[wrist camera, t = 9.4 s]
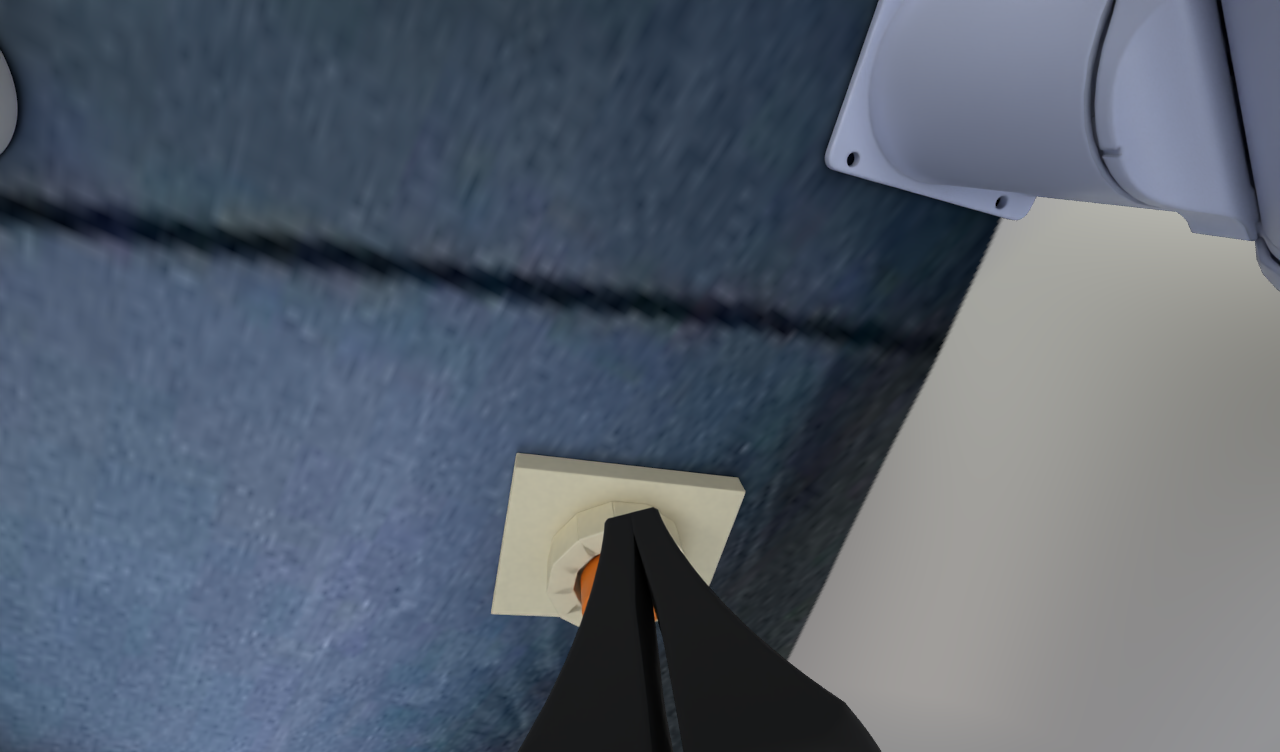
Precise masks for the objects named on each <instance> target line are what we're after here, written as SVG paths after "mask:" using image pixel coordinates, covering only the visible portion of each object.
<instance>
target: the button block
mask: <svg viewBox="0 0 1280 752" xmlns="http://www.w3.org/2000/svg"><path fill="white" fill-rule="evenodd" d="M744 495H745V490H744V488H743V486H742V484H741V483H740V481H739V479H738V478H737V477H728V476H719V475H710V474H701V473H692V472H683V471H675V470H666V469H657V468H648V467H639V466H630V465H621V464H613V463H604V462H595V461H586V460H577V459H568V458H559V457H551V456H542V455H533V454H524V453H517V454H516V459H515V465H514V471H513V478H512V484H511V490H510V496H509V502H508V509H507V515H506V521H505V527H504V534H503V540H502V546H501V552H500V559H499V565H498V571H497V577H496V584H495V590H494V596H493V603H492V610H491V614H501V615H526V616H551V617H561V618H562V619H564V620H566V621H568V622H570V623H572V624H574V625H576V626H578V627H579V626H580V623H581V620H582V617H583V616H582V604H581V581H580V579H581V575H582V572H583V570H584V568H585V567H586V565H587V564H588V563H589V562H590V561H591V560H592V559H593V558H595V557H596V556H598V555H599V554H600V553H601V547H602V542H603V534H604V523H605V522H606V520H607V519H608V518H612V517H616V516H620V515H624V514H628V513H631V512H635V511H639V510H643V509H647V508H651V507H654V508H656V509H658V510H659V513H660V516H661V518H662V520H663V522H664V524H665V526H666V528H667V530H668V531H669V533H670V535H671V536H672V538H673V540H674V541H675V543H676V544H677V546H678V547H679V549H680V550H681V552H682V553H683V554H684V556H685V557H686V558H687V560H688V561H689V562H690V564H691V565H692V566H693V568H694V569H695V570H696V572H697V573H698V574H699V575H700V577H701V578H702V579H703V580H704V581H705V582H706V584H707V585H708V586H709V585H710V583H711V580H712V578H713V575H714V572H715V570H716V567H717V565H718V562H719V559H720V557H721V554H722V552H723V549H724V547H725V544H726V541H727V539H728V536H729V534H730V531H731V528H732V526H733V523H734V521H735V518H736V516H737V513H738V510H739V508H740V505H741V503H742V500H743V497H744ZM656 621H658V620H656ZM656 621H655V622H656Z"/></svg>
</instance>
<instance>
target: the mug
mask: <svg viewBox="0 0 1280 752" xmlns="http://www.w3.org/2000/svg"><path fill="white" fill-rule="evenodd" d="M17 111H18V109H17V96H16V90H15V86H14V82H13V78H12V75H11V72H10V70H9V67H8V65H7V62H6V60H5V58H4V56H3V54H2V52H1V50H0V154H1V153H2V152H3V151H4V150H5V149H6V147H7V146H8V144H9V142H10V140H11V138H12V136H13V133H14V130H15V127H16V122H17Z"/></svg>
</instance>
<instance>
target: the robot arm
mask: <svg viewBox="0 0 1280 752" xmlns="http://www.w3.org/2000/svg"><path fill="white" fill-rule="evenodd" d="M851 153H853V154H854V162H853V163H852V165H850V166H848V165H847V157H848V156H849V154H851ZM825 164H826V165H827V167H828V168H830V169H831V170H834V171H838V172H841V173H845V174H848V175H852V176H855V177H859V178H863V179H866V180H870V181H873V182H877V183H880V184H884V185H888V186H891V187H895V188H898V189H902V190H905V191H909V192H913V193H916V194H920V195H923V196H927V197H930V198H934V199H938V200H941V201H945V202H948V203H952V204H955V205H959V206H963V207H966V208H970V209H973V210H977V211H980V212H984V213H988V214H991V215H995V216H998V217H1002V218H1006V219H1010V220H1019V219H1022V218H1023V217H1024V216H1026V215H1027V213H1028V212H1029V210H1030V208H1031V206H1032V205H1033V202H1034V201H1035V199H1036V197H1037V196H1038V197H1047V198H1056V199H1065V200H1074V201H1084V202H1092V203H1101V204H1111V205H1119V206H1129V207H1137V208H1147V209H1155V210H1165V211H1174V212H1178V213H1179V214H1180V215H1182V216H1183V217H1184V218H1185V219H1186V221H1187V222H1188V225H1189V227H1190V229H1191V231H1192V233H1199V234H1205V235H1212V236H1219V237H1226V238H1234V239H1241V240H1248V241H1255V246H1256V257H1257V261H1258V264H1259V266H1260V268H1261V271H1262V273H1263V275H1264V276H1265V277H1266V278H1267V279H1268V280H1269V281H1270V282H1271V283H1272V284H1273V286H1274V287H1275V288H1276V289H1277V290H1278V291H1280V0H879V1H878V4H877V7H876V10H875V13H874V16H873V19H872V21H871V24H870V27H869V30H868V33H867V36H866V39H865V41H864V44H863V47H862V50H861V53H860V56H859V59H858V61H857V64H856V67H855V70H854V73H853V76H852V79H851V81H850V84H849V87H848V90H847V93H846V96H845V99H844V101H843V104H842V107H841V110H840V113H839V116H838V119H837V121H836V124H835V127H834V130H833V133H832V136H831V139H830V141H829V144H828V147H827V150H826V153H825ZM999 197H1000V201H999V204H998V205H997V206H996V205H995V204H996V201H997V199H998V198H999ZM653 607H654V608H653ZM654 610H655V614H656V617H657V620H658V623H659V627H660V630H661V633H662V637H663V641H664V647H665V652H666V657H667V663H668V668H669V673H670V679H671V684H672V690H673V695H674V701H675V706H676V712H677V717H678V723H679V729H680V734H681V740H682V746H683V752H881V750H880V749H879V747H878V745H877V744H876V742H875V741H874V740H873V738H872V736H871V735H870V734H869V732H868V731H867V730H866V728H865V727H864V726H863V724H862V723H861V722H860V720H859V719H858V718H857V717H856V715H855V714H854V713H853V712H852V711H851V709H850V708H849V707H848V706H847V705H846V703H845V702H843V701H842V700H841V699H839V698H838V697H836V696H835V695H833V694H832V693H830V692H829V691H827V690H826V689H824V688H823V687H822V686H820V685H819V684H817V683H816V682H814V681H813V680H812V679H810V678H809V677H808V676H806V675H805V674H804V673H802V672H801V671H800V670H798V669H797V668H796V667H794V666H793V665H792V664H791V663H789V662H788V661H787V660H785V659H784V658H783V657H782V656H781V655H780V654H778V653H777V652H776V651H775V650H774V649H772V648H771V647H770V646H769V645H768V644H767V643H765V642H764V641H763V640H762V639H761V638H760V637H758V636H757V635H756V634H755V633H754V632H753V631H752V630H751V629H749V628H748V627H747V626H746V625H745V624H744V623H743V622H742V621H741V620H740V619H739V618H738V617H737V616H736V615H735V614H734V613H733V612H732V611H731V610H730V609H729V608H728V607H727V606H726V605H725V604H724V603H723V602H722V601H721V600H720V598H719V597H718V596H717V595H716V594H715V593H714V592H713V591H712V590H711V588H710V587H709V586H708V585H707V584H706V582H705V581H704V580H703V579H702V578H701V577H700V575H699V574H698V573H697V572H696V570H695V569H694V568H693V566H692V565H691V564H690V562H689V561H688V560H687V558H686V557H685V556H684V554H683V553H682V552H681V550H680V549H679V547H678V546H677V544H676V543H675V541H674V540H673V538H672V536H671V535H670V533H669V531H668V530H667V528H666V526H665V524H664V522H663V520H662V518H661V516H660V513H659V510H658V509H656V508H654V507H651V508H647V509H643V510H639V511H635V512H631V513H628V514H624V515H620V516H616V517H612V518H608V519H607V520H606V522H605V523H604V534H603V542H602V547H601V553H600V557H599V562H598V566H597V570H596V574H595V578H594V582H593V586H592V589H591V593H590V596H589V599H588V602H587V605H586V608H585V611H584V614H583V617H582V620H581V623H580V626H579V629H578V631H577V634H576V637H575V639H574V642H573V644H572V647H571V649H570V651H569V654H568V656H567V659H566V661H565V663H564V665H563V667H562V670H561V672H560V674H559V676H558V678H557V680H556V682H555V685H554V687H553V689H552V691H551V693H550V695H549V697H548V699H547V701H546V703H545V705H544V706H543V708H542V710H541V712H540V713H539V715H538V717H537V719H536V721H535V722H534V724H533V726H532V728H531V730H530V731H529V733H528V735H527V737H526V739H525V740H524V742H523V744H522V745H521V747H520V749H519V750H518V752H673V748H672V743H671V738H670V732H669V727H668V722H667V717H666V711H665V704H664V697H663V689H662V680H661V671H660V662H659V653H658V643H657V634H656V626H655V617H654Z"/></svg>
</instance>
